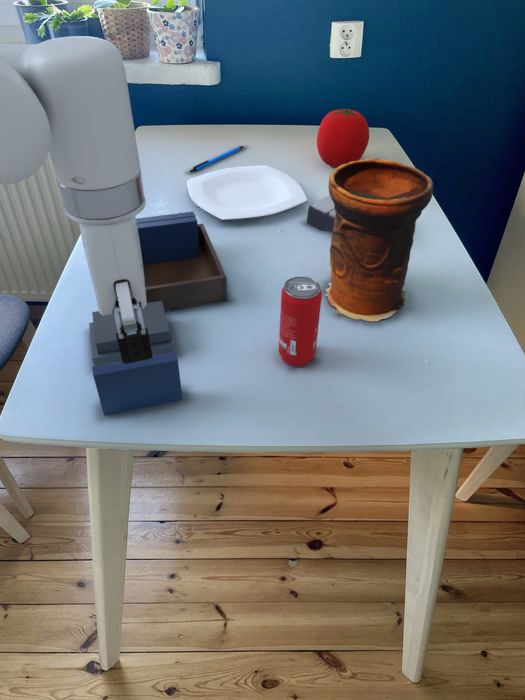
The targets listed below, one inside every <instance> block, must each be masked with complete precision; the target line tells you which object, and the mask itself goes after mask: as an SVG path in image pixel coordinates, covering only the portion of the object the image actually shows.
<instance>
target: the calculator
mask: <svg viewBox="0 0 525 700" xmlns="http://www.w3.org/2000/svg"><path fill="white" fill-rule="evenodd" d="M335 215H336V213H335V209H334V202H333V201H332V199H331V196H330V194H328V195H327V196H325V197H323V198H321V199H319V200H318V201H316V202H313V203H312V204H310V205H309V206H308V208H307V215H306V216H307V217H306V224H308V225H310V226H311V227H314V228H315V229H317V230H320V231H324V230H325V231H327V232H330V233H332V232H333V228H334V220H335Z"/></svg>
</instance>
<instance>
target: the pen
mask: <svg viewBox="0 0 525 700" xmlns="http://www.w3.org/2000/svg"><path fill="white" fill-rule="evenodd" d="M244 147H245V146H244V145H241V146H236V147H235V148H233V149H230V150H228V151H226V152H224V153H222V154H220V155H217V156H216V157H213V158H211V159H209V160H205V161H203V162H201V163H199V164H196V165H194V166H193V168H192V169H191V170H189V173H193V172H197V171H200V170H202V169H204V168H206V167H208V166H211V165H212V164H214V163H216V162H218V161H221V160H222V159H225V158H227V157H229V156H231V155H233V154H235V153H237V152H240V151H241V150H242V149H243V148H244Z"/></svg>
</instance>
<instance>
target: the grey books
mask: <svg viewBox="0 0 525 700" xmlns="http://www.w3.org/2000/svg"><path fill="white" fill-rule="evenodd" d="M141 311H142V316H143V321H144V326H145V328H146V327H147V329H148V334H149V339H150V345H151V350H152V355H153V356H155V355H161V354H166V353H172V352H176V351H175V345H174V340H173V338H172V333H171V330H170V326H169V321H168V318H167V314H166V311H165V310H164V306H163V303H162V301H158V302H151V303H147V305H146V306H145V307H144V308H143V309H142V307H141ZM91 314H92V315H91V316H92V322H89V323H88V326H89V327H88V328H89V337H90V347H91V348H90V349H91V357H92V358H91V359H92V362H93V367H95V366H101V365H106V364H112V363H117V362H122V357H121V353H120V349H119V345H118V341H117V337H116V333H118V332H117V327H116V322H115V317H114V313H113V312H112V314H111V315H106V316H103V315H101V314H100V313H99V310H95V311H92V312H91ZM119 314H120V319H121V324H123V322H122V317H121V313H119ZM134 315H135V320H136V322H137V321H138V317H137V312H136V311H134ZM138 323H139V322H138Z"/></svg>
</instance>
